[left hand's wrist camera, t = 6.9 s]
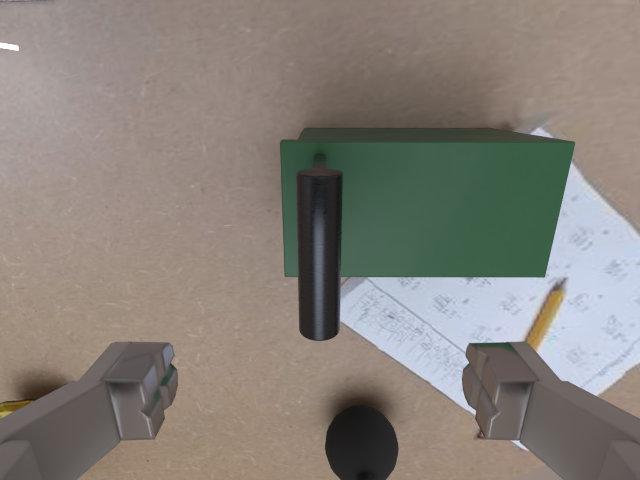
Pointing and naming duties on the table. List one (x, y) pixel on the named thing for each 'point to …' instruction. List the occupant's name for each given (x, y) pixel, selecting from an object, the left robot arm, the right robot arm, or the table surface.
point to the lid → (415, 213)
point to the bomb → (361, 444)
